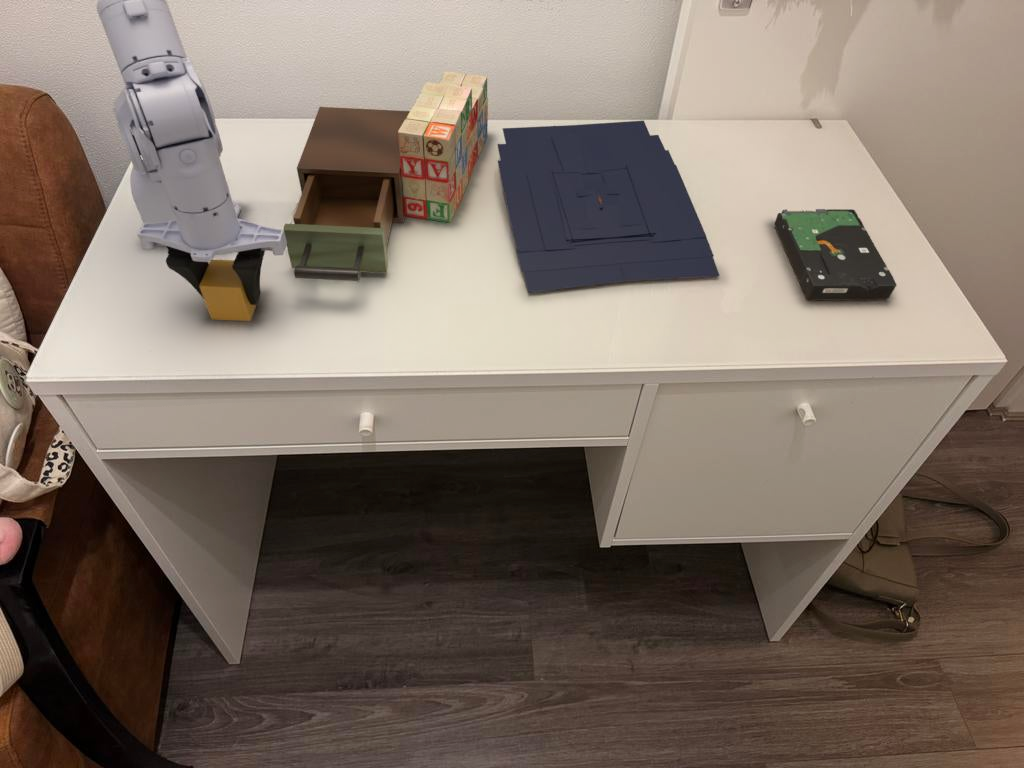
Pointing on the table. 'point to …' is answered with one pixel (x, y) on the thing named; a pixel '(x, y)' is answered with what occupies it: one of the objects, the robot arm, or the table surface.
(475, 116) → the stack of blocks
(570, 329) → the table surface
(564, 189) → the navy folded towel
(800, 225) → the disk drive
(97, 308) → the table surface
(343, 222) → the drawer
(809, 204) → the table surface
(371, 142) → the cabinet
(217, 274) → the block
